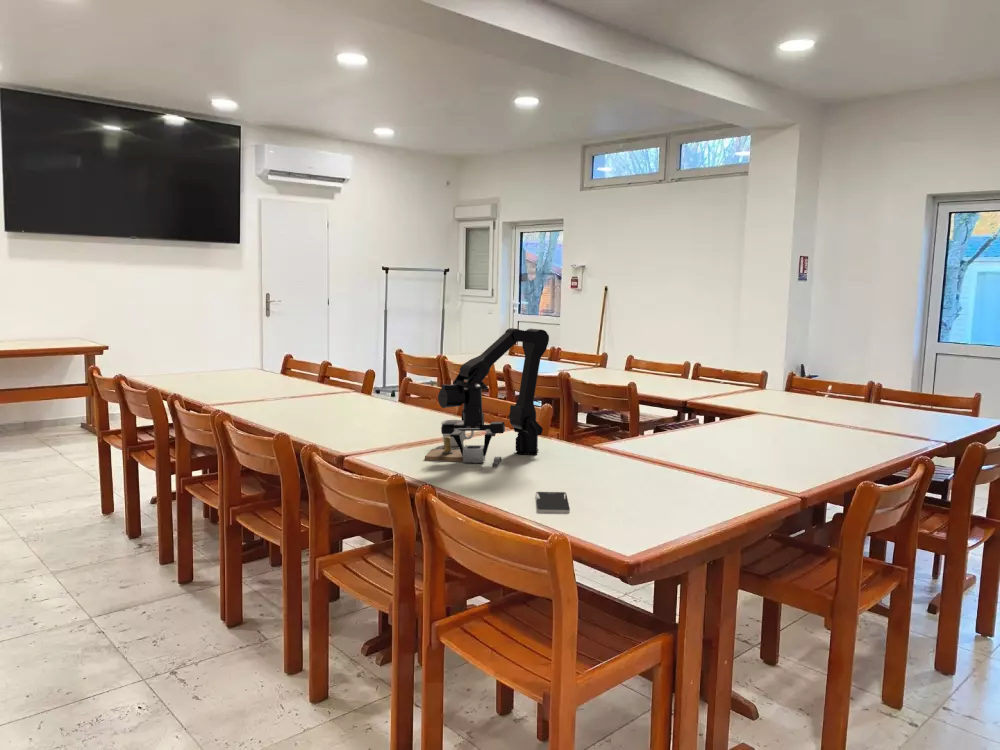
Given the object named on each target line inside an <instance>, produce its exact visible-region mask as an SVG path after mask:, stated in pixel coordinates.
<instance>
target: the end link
mask: <svg viewBox="0 0 1000 750" xmlns="http://www.w3.org/2000/svg"><path fill="white" fill-rule="evenodd" d="M485 460H486V456H484V444H482V445H481V444H478V445H477V444H476V445H475V444H473V445H472V444H470V445H464V448H463V461H462V463H463V464H464V463H484V462H485Z"/></svg>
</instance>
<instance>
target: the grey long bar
mask: <svg viewBox="0 0 1000 750" xmlns="http://www.w3.org/2000/svg"><path fill="white" fill-rule="evenodd" d="M501 461H502V456H494V457H493V462H492V464H491V465H492V468H498V467H499V465H500V463H501Z"/></svg>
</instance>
